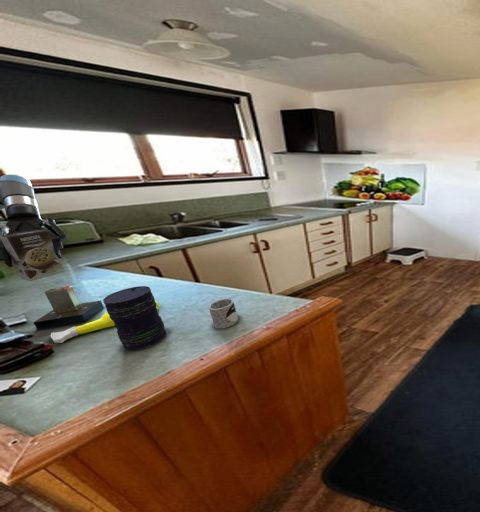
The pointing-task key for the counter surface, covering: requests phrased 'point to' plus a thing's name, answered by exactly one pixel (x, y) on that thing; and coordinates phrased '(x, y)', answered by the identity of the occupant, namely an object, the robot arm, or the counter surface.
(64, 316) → the dispenser panel
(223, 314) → the mug
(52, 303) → the small grey box
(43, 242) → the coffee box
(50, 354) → the counter surface
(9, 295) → the counter surface
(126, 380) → the counter surface
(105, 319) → the yellow flared piece
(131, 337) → the storage jar
